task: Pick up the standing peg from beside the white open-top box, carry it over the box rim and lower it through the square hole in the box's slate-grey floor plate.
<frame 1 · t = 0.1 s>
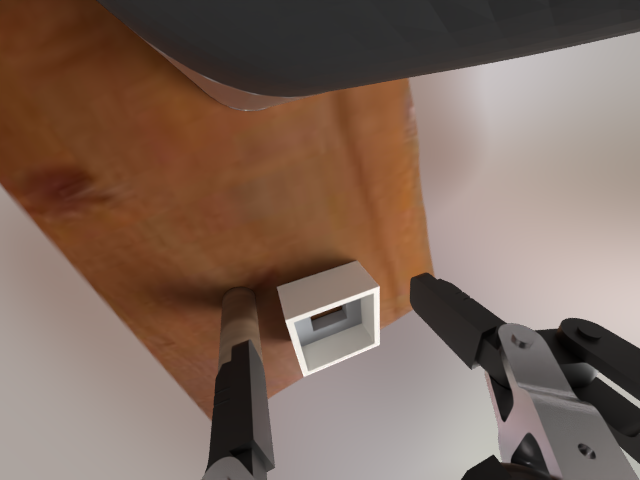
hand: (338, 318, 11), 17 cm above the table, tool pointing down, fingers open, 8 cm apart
peg: (239, 299, 29), on the table
open box: (324, 303, 35), on the table
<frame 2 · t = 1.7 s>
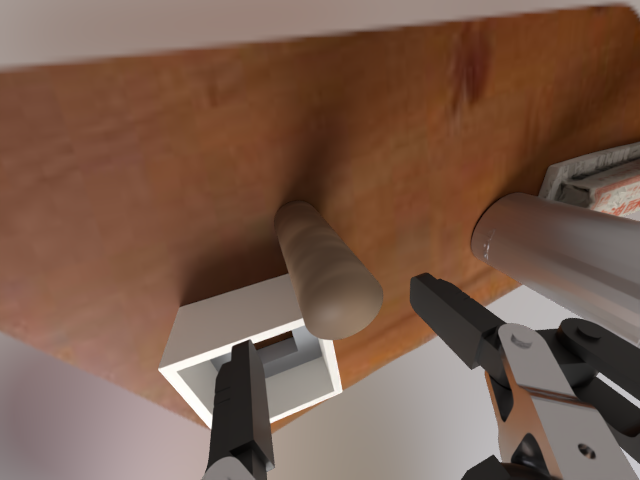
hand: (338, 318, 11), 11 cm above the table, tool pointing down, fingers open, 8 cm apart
packaged product: (579, 187, 31), on the table
peg: (297, 222, 20), on the table
open box: (264, 328, 24), on the table
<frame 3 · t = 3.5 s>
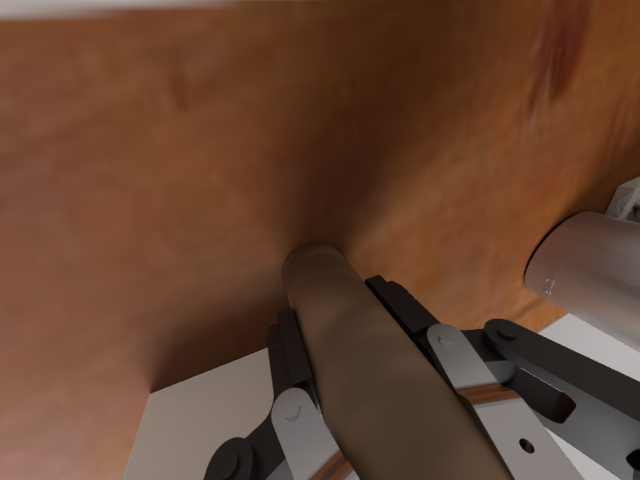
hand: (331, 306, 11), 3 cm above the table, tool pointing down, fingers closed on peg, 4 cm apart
peg: (313, 270, 14), on the table, touching gripper
open box: (269, 400, 18), on the table
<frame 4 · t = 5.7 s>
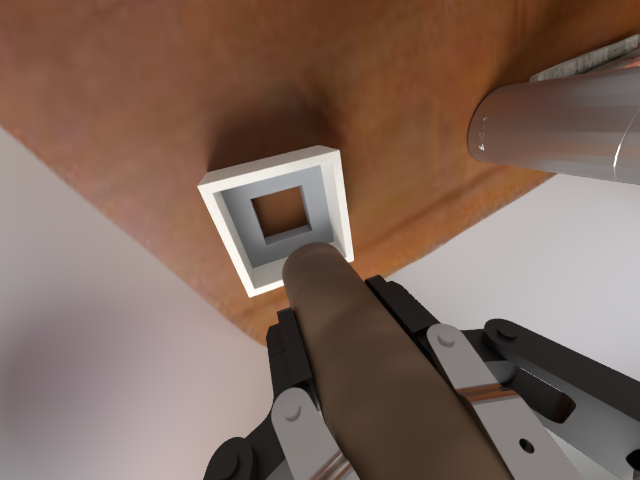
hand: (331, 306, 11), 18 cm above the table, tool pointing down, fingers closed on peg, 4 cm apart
packaged product: (566, 97, 33), on the table
peg: (313, 270, 14), point 14 cm above the table, touching gripper
open box: (280, 210, 27), on the table
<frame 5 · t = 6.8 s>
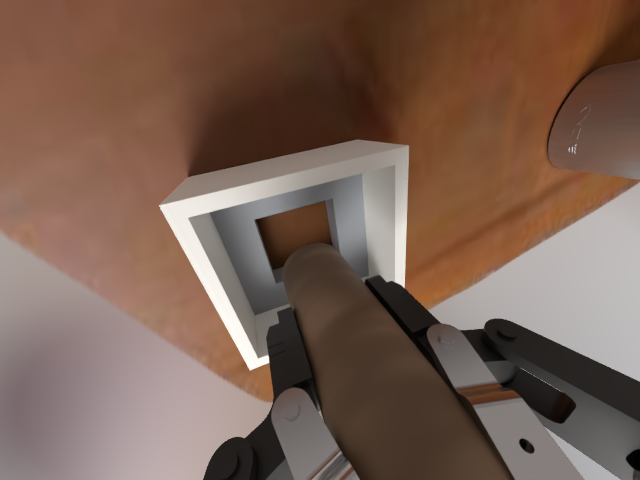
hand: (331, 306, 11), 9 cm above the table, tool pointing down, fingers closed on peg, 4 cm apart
peg: (313, 271, 14), point 5 cm above the table, touching gripper
open box: (297, 232, 19), on the table
when the fingers open (5 cm above the table, at t = 7.9 s): peg drops 1 cm, resting in open box.
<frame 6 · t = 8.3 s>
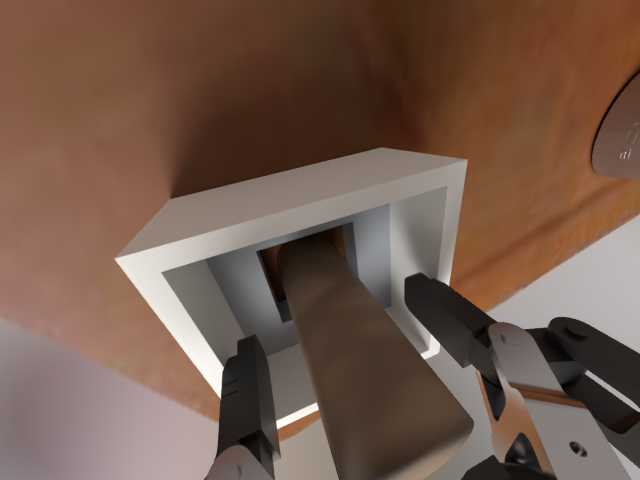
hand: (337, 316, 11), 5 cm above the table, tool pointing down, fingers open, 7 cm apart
peg: (306, 259, 15), resting in open box
open box: (307, 259, 15), on the table
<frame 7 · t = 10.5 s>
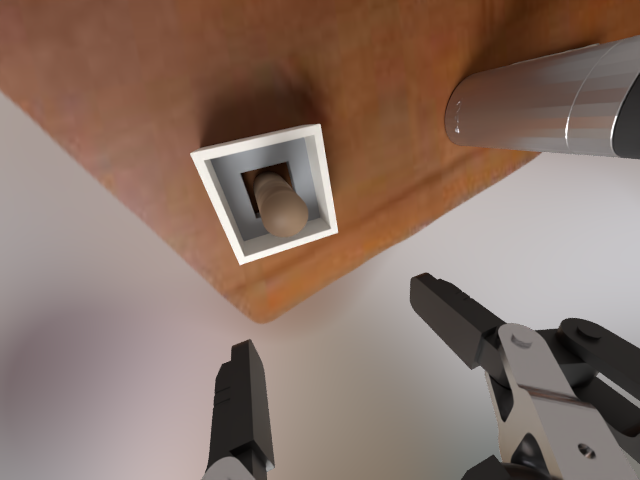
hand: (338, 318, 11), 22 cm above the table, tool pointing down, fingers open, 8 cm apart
peg: (269, 187, 28), resting in open box
open box: (269, 187, 28), on the table
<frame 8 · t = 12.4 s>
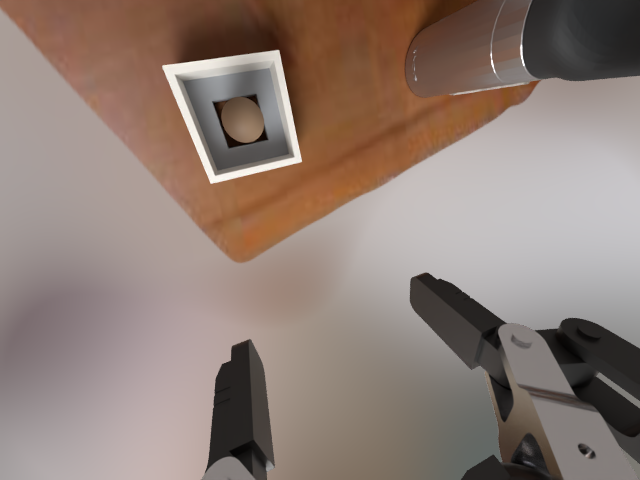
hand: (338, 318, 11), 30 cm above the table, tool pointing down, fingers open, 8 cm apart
peg: (241, 122, 32), resting in open box
open box: (241, 122, 32), on the table
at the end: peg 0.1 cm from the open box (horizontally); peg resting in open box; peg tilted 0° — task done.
